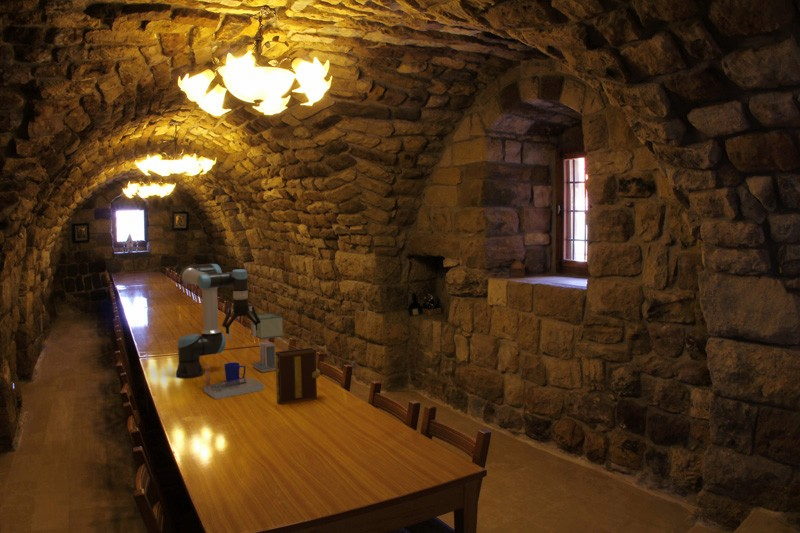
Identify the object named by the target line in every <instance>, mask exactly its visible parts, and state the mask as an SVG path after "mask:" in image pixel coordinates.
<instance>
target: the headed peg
mask: <svg viewBox="0 0 800 533" xmlns="http://www.w3.org/2000/svg"><path fill="white" fill-rule="evenodd" d="M211 366H212V365H208V364H207V365H205V366H204V365H203V370H204V371H205V373H204V374H205V385H210V384H211V369H212V367H211ZM203 390H204V386H203Z"/></svg>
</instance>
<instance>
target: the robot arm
mask: <svg viewBox="0 0 800 533" xmlns="http://www.w3.org/2000/svg"><path fill="white" fill-rule="evenodd" d="M179 276H180V280H181V281H182V282H183V283H184V284H187V285H192V286H194V285H195V286H198V288H199V289H201V296H202V297H201V299H202V302H201V303H202V316H203V318H202V320H203V330H202V331H201V335H199V334H197V333H194V334H187V335H183V336H181V337H179V339H178V341H177V353H178V365H177V367H176V372H175V375H176V376H175V377H176V378H178V379H193V378H198V377H202V376H203V375H204V367H203V366H202V364H201V359H200V357H205V356H210V355H216V354H217V355H218V354H221V353H223V351H224V350H225V348H226V341H227V340H228V341H232V332H231V329H232V328H231V325H232V323H233V322H234V321H235V319H237V318H238V317H245V316H246V317H247V318H248V319H249V320H250V322H251V321H252V322H253V323H254V324H252V328H253V335H252V337H253V338H257V337H256V330H257V325H258V323H260V320H259V318H258V316H257V314H258V313H257V312H256V311H255V307H254V306H249V299H248V298H249V296H248V294H249V292H248V272H247V269H238V268H237V269H233V270H232V271H228V272H223V271H222V269H221V267H220V265H218V264H217V263H205V264H191V265H188V266H185V267H184V268H183V269H182V270H181V271H180V275H179ZM226 287H227V288H228V287H232V298H233V300H232V302H233V304H232V305H233V308H227V313H226V316H225V317H224V320H223V322H222V324H221V327H223V328H225V334H226V335H227V340H226V336H225V334H224V333H222V330H221V329H220V327H219V325H220V324H219V308H218V307H219V306H218V304H219V302H218V288H226ZM249 311H251V314H250V313H249ZM232 313H233V314H232ZM231 314H232V316H231ZM250 315H253V316H254V318H255V319H256V321H255V320H254V319H253V318H252V317H251V316H250Z"/></svg>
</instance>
